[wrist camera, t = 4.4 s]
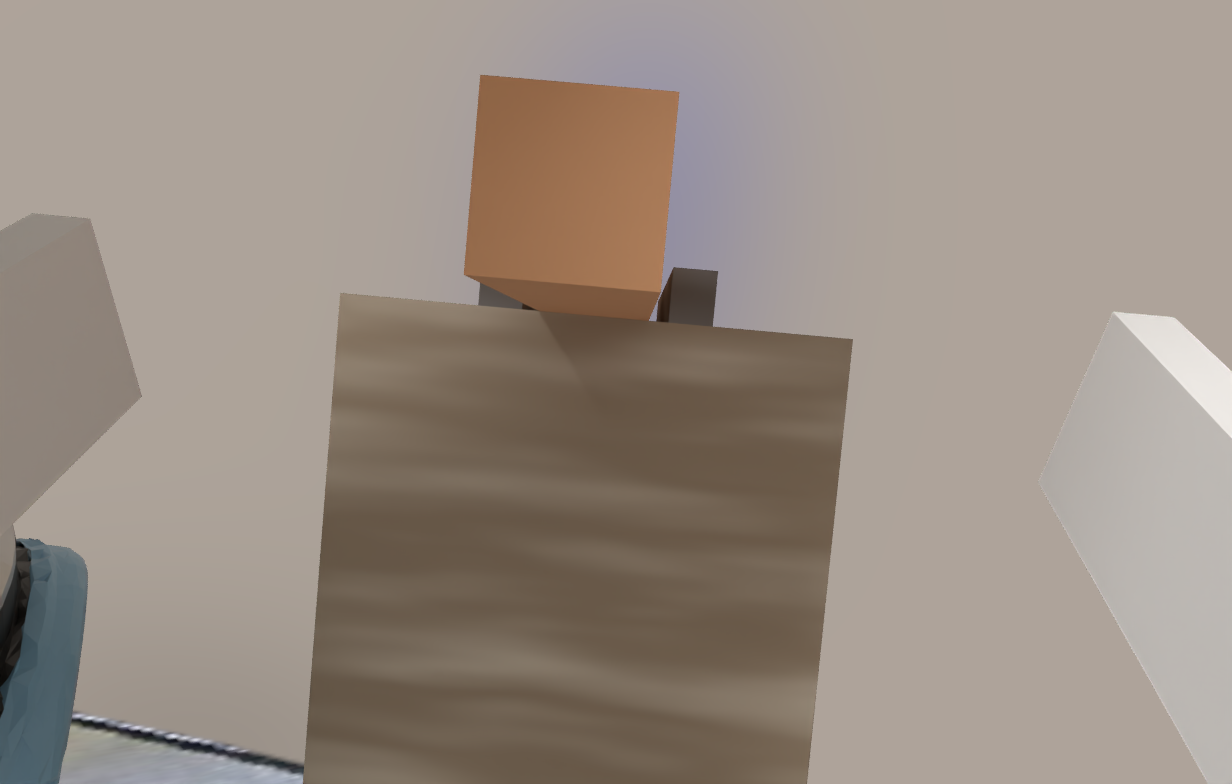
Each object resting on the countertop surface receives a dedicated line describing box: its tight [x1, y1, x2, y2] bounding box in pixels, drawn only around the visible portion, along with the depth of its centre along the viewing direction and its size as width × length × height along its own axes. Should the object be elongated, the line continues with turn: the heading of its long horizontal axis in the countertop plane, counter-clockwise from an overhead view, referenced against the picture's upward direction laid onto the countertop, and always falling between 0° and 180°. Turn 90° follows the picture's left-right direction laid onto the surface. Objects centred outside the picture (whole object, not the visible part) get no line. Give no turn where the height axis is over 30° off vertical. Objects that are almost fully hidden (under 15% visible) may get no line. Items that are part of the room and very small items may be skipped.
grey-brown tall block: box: [303, 267, 853, 784], centre depth 30 cm, size 14×14×32 cm
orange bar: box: [464, 75, 679, 321], centre depth 26 cm, size 26×3×3 cm, turn 179°
